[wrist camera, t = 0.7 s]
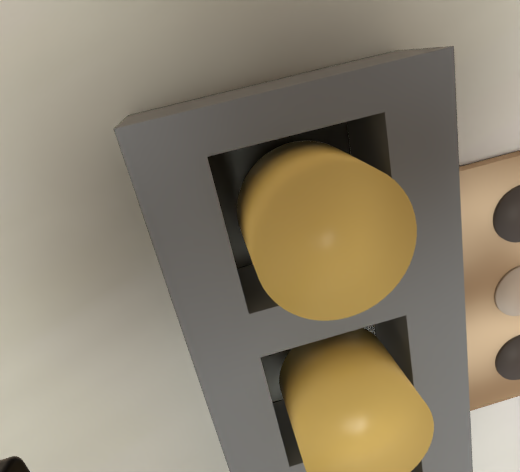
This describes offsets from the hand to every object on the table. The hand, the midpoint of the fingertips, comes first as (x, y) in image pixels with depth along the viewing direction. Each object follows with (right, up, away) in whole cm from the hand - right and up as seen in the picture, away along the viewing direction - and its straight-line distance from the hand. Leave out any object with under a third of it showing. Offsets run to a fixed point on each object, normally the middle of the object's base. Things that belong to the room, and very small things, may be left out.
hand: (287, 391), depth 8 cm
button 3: (+1, +4, +9) cm, 10 cm away
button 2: (+3, -4, +12) cm, 13 cm away
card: (+13, 0, +15) cm, 20 cm away
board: (+2, -3, +15) cm, 15 cm away
